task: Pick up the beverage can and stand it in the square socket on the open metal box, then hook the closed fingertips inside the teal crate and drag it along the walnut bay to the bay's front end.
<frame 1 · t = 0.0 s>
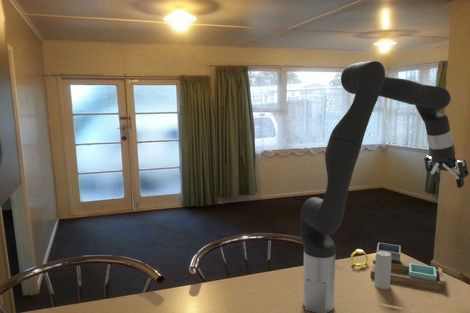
hand: (448, 184, 126), 31 cm above the kitchen counter, tool tilted 20°, fingers open, 8 cm apart
crate: (422, 274, 120), point 3 cm above the kitchen counter, slide at 0.0 cm
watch: (358, 265, 134), on the kitchen counter
open metal box: (388, 264, 134), on the kitchen counter
beverage can: (382, 287, 117), on the kitchen counter
bay: (405, 279, 122), on the kitchen counter
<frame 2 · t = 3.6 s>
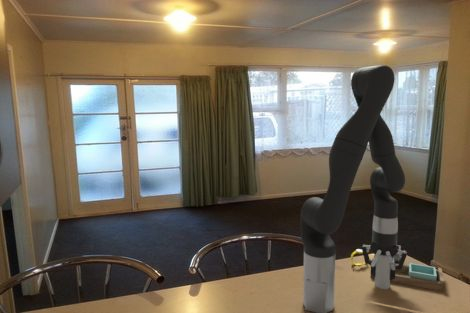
hand: (382, 277, 117), 3 cm above the kitchen counter, tool pointing down, fingers closed on beverage can, 4 cm apart
beverage can: (382, 287, 117), on the kitchen counter, touching gripper
everything else where it was.
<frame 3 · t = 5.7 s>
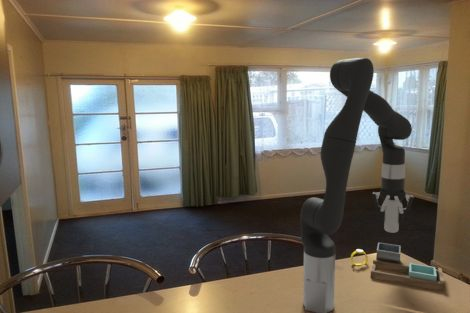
hand: (391, 221, 127), 18 cm above the kitchen counter, tool pointing down, fingers closed on beverage can, 4 cm apart
beverage can: (391, 231, 127), point 15 cm above the kitchen counter, touching gripper
everything else where it was.
when the fingers open (8 cm above the kitchen counter, at t = 7.8 s): beverage can stays where it is, resting on open metal box.
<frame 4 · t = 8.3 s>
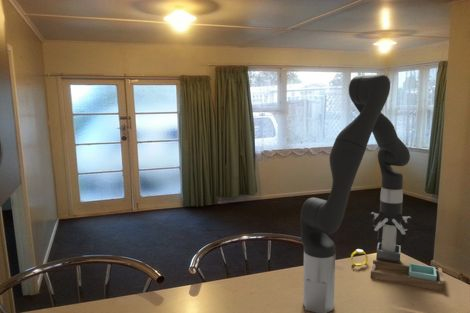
hand: (389, 241, 132), 9 cm above the kitchen counter, tool pointing down, fingers open, 8 cm apart
beverage can: (388, 254, 133), point 4 cm above the kitchen counter, touching open metal box
everything else where it was.
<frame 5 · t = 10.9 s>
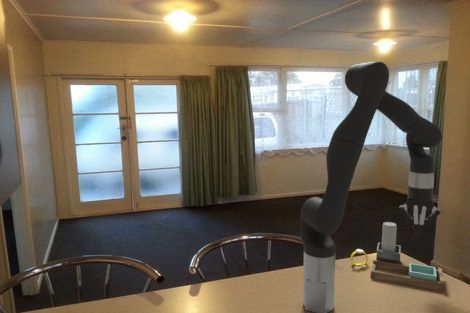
hand: (417, 234, 121), 16 cm above the kitchen counter, tool pointing down, fingers closed
nothing on the kitchen counter moved.
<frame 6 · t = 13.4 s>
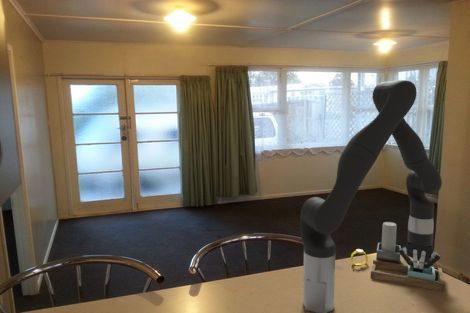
hand: (417, 277, 120), 1 cm above the kitchen counter, tool pointing down, fingers closed
crate: (420, 274, 120), point 3 cm above the kitchen counter, slide at 0.4 cm, touching gripper
everything else where it was.
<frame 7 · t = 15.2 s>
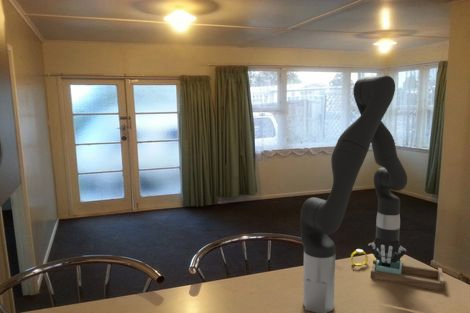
hand: (385, 271, 125), 1 cm above the kitchen counter, tool pointing down, fingers closed
crate: (388, 269, 124), point 3 cm above the kitchen counter, slide at 10.4 cm, touching gripper
everything else where it was.
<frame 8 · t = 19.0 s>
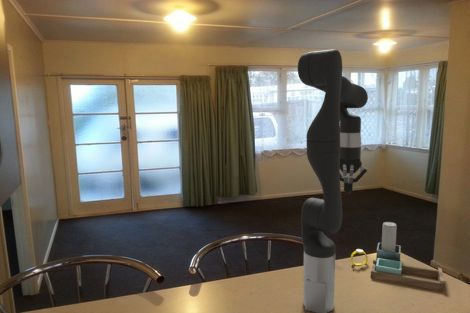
hand: (348, 192, 127), 29 cm above the kitchen counter, tool pointing down, fingers closed
crate: (388, 269, 124), point 3 cm above the kitchen counter, slide at 10.5 cm
everything else where it was.
at the end: crate slide at 10.5 cm; beverage can 0.1 cm off-centre on the open metal box, point 3.8 cm above the open metal box's base; beverage can tilted 0° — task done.
